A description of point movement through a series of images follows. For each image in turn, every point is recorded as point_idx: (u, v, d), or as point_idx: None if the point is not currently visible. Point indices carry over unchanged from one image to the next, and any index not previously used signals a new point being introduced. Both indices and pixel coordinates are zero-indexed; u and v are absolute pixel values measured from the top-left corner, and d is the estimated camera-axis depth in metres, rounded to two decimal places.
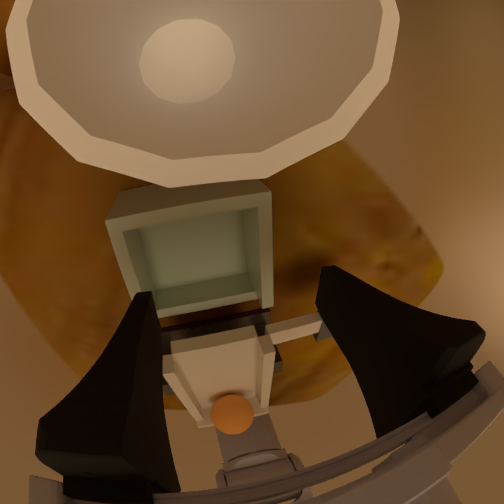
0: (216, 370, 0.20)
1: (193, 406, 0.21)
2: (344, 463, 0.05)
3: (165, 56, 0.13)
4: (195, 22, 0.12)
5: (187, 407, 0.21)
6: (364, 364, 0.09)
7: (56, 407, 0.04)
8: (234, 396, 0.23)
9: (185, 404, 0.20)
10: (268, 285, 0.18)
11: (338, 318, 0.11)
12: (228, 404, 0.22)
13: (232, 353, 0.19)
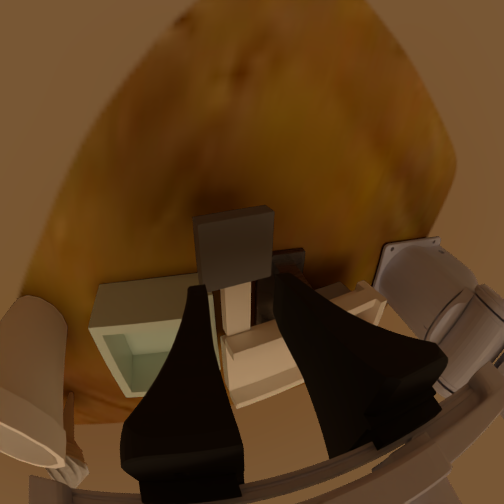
0: (273, 358, 0.21)
1: None
2: (344, 463, 0.05)
3: None
4: None
5: None
6: (314, 381, 0.09)
7: (140, 407, 0.05)
8: None
9: None
10: (176, 323, 0.18)
11: (290, 329, 0.10)
12: None
13: None
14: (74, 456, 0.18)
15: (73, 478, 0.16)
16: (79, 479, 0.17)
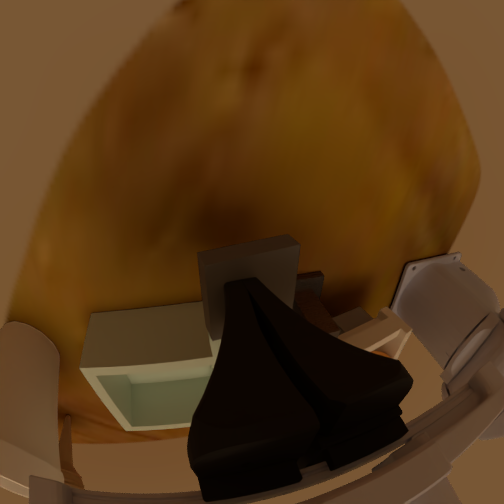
0: None
1: None
2: None
3: None
4: None
5: None
6: None
7: (206, 400, 0.05)
8: None
9: None
10: (179, 364, 0.15)
11: None
12: None
13: None
14: (73, 484, 0.15)
15: None
16: None
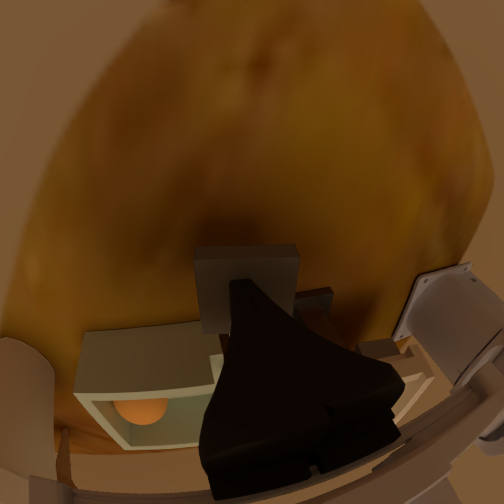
0: None
1: None
2: None
3: None
4: None
5: None
6: None
7: (217, 399, 0.05)
8: None
9: None
10: (179, 391, 0.13)
11: None
12: None
13: None
14: None
15: None
16: None
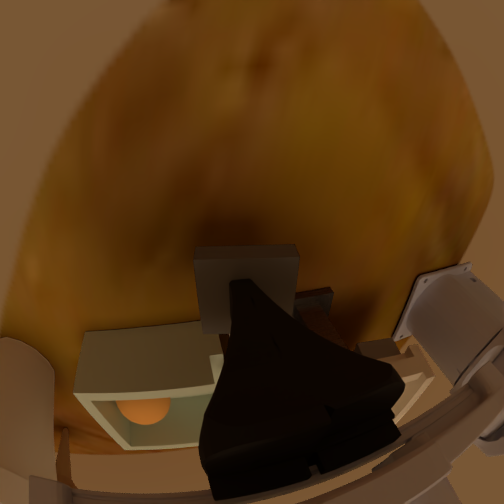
0: None
1: None
2: None
3: None
4: None
5: None
6: None
7: (217, 399, 0.05)
8: None
9: None
10: (179, 391, 0.13)
11: None
12: None
13: None
14: None
15: None
16: None
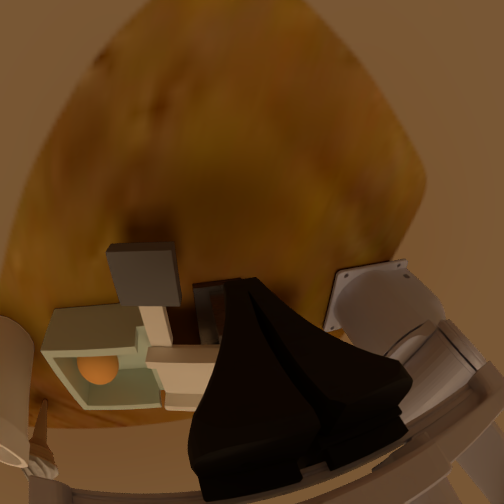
0: (203, 378, 0.21)
1: None
2: None
3: None
4: None
5: None
6: None
7: (206, 400, 0.05)
8: None
9: None
10: (111, 351, 0.17)
11: None
12: None
13: None
14: (44, 458, 0.17)
15: (43, 477, 0.16)
16: None
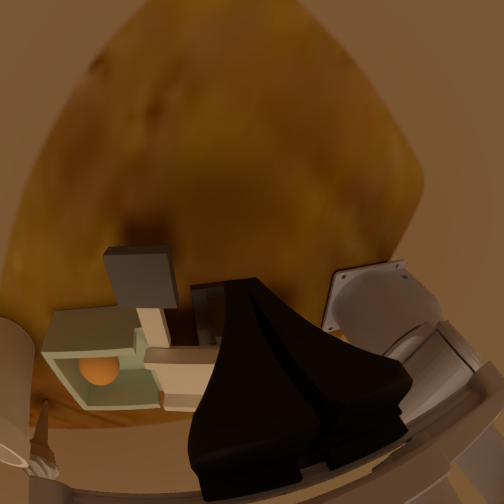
0: (201, 379, 0.21)
1: None
2: None
3: None
4: None
5: None
6: None
7: (206, 400, 0.05)
8: None
9: None
10: (109, 352, 0.18)
11: None
12: None
13: None
14: (45, 458, 0.18)
15: (44, 477, 0.16)
16: (50, 478, 0.17)
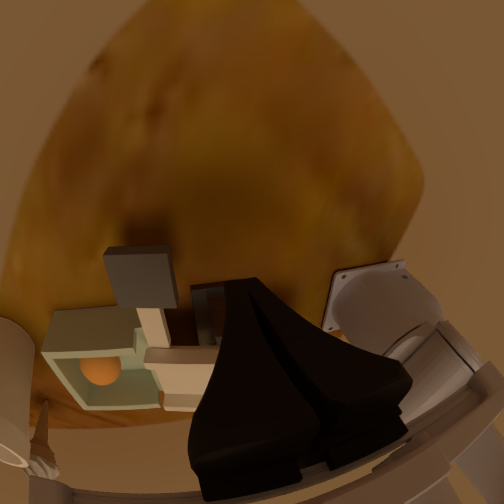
0: (201, 379, 0.21)
1: None
2: None
3: None
4: None
5: None
6: None
7: (206, 400, 0.05)
8: None
9: None
10: (109, 352, 0.18)
11: None
12: None
13: None
14: (45, 458, 0.18)
15: (44, 477, 0.16)
16: (50, 478, 0.17)
